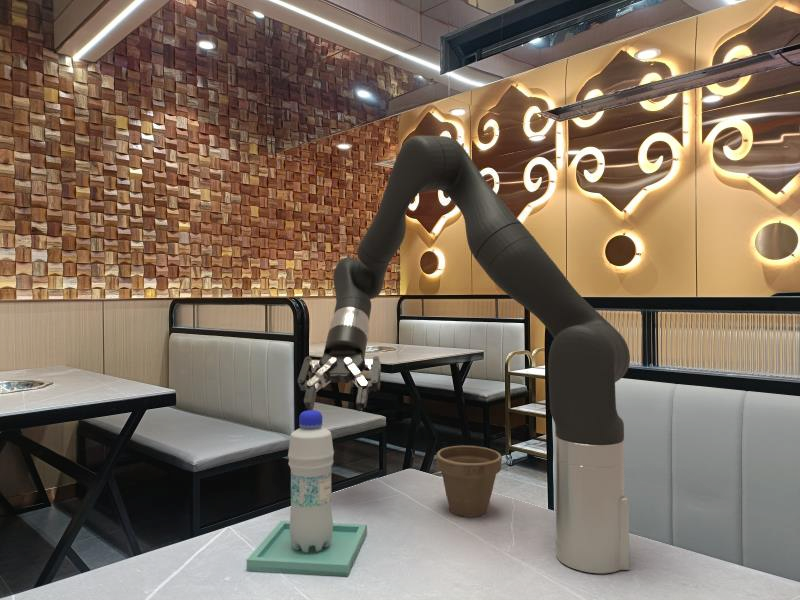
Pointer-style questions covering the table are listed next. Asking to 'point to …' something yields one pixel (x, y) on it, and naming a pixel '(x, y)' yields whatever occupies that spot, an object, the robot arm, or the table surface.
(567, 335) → the robot arm
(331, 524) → the bottle
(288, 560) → the tray
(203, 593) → the table surface
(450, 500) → the flower pot
